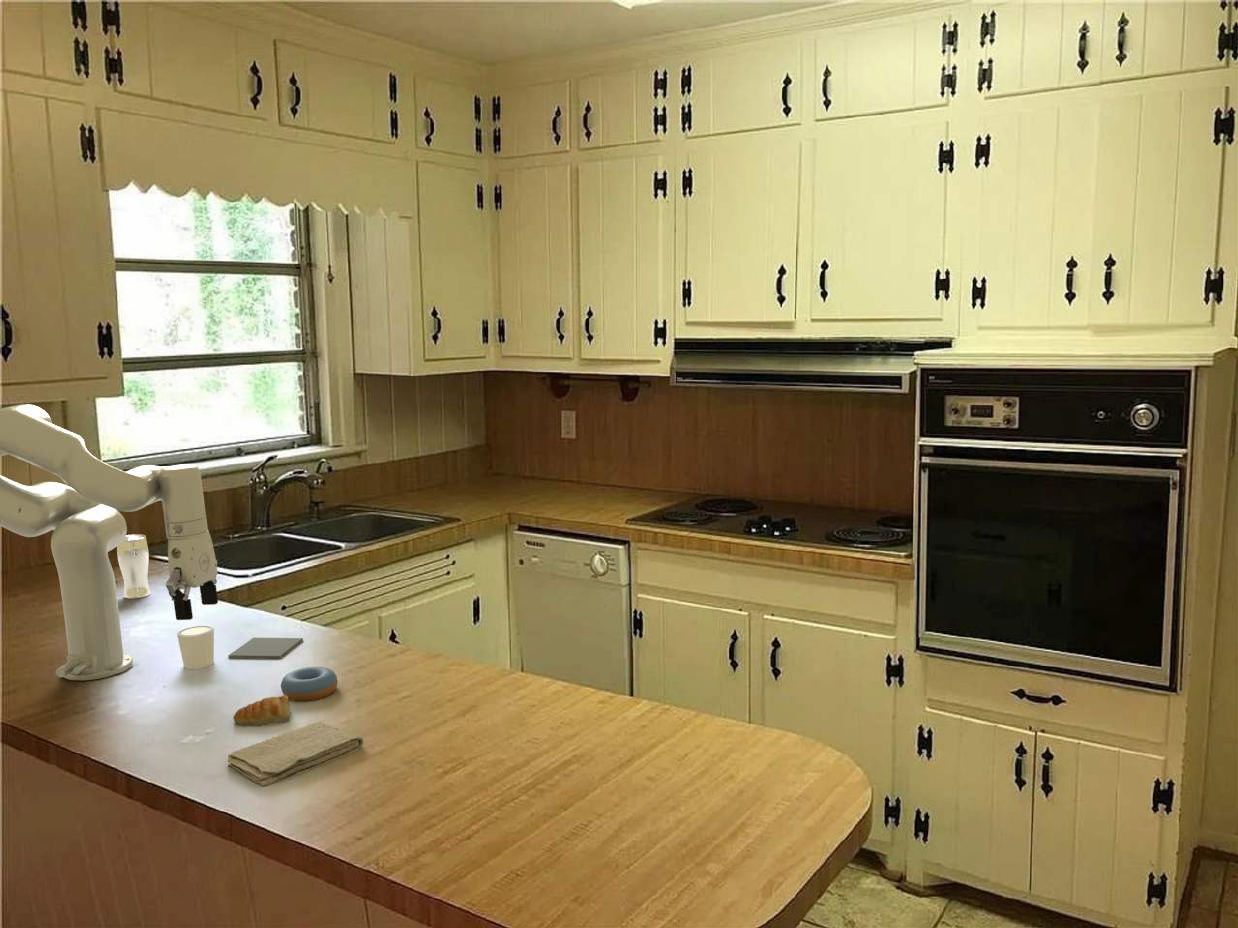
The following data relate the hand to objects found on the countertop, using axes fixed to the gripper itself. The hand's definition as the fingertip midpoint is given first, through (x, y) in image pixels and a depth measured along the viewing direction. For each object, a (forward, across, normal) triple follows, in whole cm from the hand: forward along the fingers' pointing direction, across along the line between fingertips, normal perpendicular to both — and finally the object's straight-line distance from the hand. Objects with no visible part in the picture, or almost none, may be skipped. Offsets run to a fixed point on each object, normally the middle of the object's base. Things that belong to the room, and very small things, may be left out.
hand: (197, 611), depth 201 cm
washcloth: (+12, -40, -37) cm, 56 cm away
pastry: (+12, -26, -26) cm, 38 cm away
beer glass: (+10, +47, +43) cm, 64 cm away
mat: (+11, +9, -9) cm, 17 cm away
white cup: (+11, 0, +1) cm, 11 cm away
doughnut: (+12, -14, -28) cm, 34 cm away
